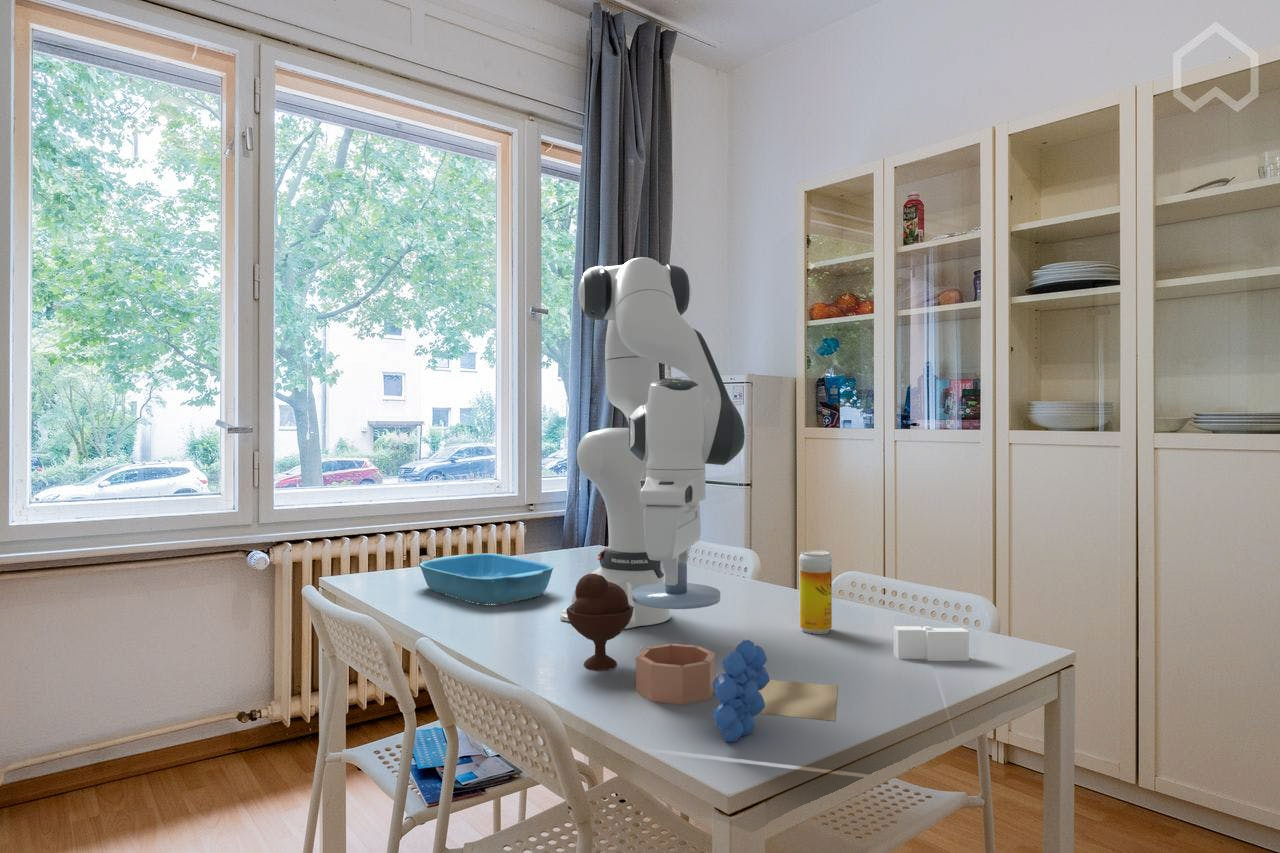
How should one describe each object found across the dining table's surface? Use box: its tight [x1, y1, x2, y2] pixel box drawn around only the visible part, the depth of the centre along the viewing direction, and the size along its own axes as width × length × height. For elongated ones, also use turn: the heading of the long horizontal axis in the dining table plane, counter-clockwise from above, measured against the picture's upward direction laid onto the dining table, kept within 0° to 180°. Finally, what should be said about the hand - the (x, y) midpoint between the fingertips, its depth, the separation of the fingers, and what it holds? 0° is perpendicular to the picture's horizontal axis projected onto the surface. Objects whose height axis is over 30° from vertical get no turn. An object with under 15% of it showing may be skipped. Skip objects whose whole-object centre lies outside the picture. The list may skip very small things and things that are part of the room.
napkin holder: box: [893, 625, 970, 662], centre depth 130 cm, size 15×11×6 cm
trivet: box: [758, 679, 839, 722], centre depth 109 cm, size 14×14×1 cm
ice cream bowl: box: [566, 573, 634, 671], centre depth 126 cm, size 11×11×15 cm
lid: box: [632, 563, 721, 610], centre depth 113 cm, size 13×13×5 cm
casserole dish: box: [419, 552, 554, 606], centre depth 181 cm, size 37×22×7 cm, turn 44°
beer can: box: [798, 549, 833, 635], centre depth 146 cm, size 6×6×15 cm
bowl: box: [635, 643, 717, 705], centre depth 113 cm, size 11×11×6 cm
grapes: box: [712, 639, 771, 744], centre depth 97 cm, size 12×7×12 cm, turn 143°
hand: (676, 581), depth 113 cm, fingers closed on lid, 3 cm apart
